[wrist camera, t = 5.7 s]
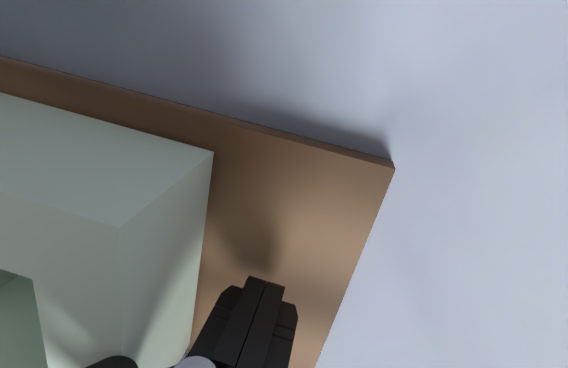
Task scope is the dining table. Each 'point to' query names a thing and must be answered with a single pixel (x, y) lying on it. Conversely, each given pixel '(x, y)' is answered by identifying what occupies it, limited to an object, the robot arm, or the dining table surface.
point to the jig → (248, 197)
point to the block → (96, 239)
